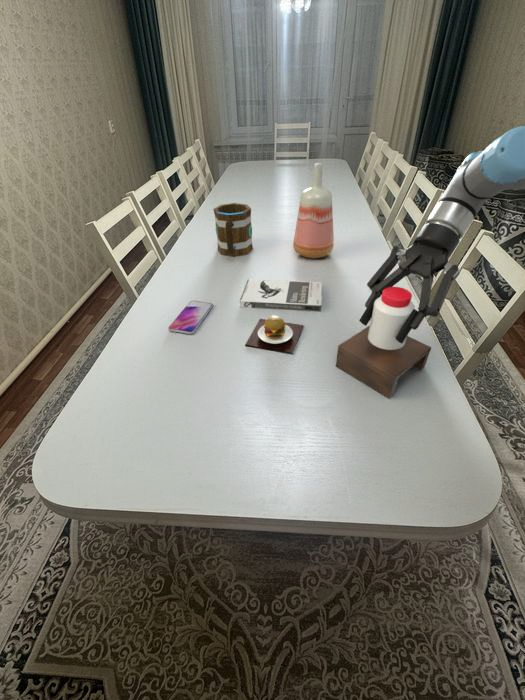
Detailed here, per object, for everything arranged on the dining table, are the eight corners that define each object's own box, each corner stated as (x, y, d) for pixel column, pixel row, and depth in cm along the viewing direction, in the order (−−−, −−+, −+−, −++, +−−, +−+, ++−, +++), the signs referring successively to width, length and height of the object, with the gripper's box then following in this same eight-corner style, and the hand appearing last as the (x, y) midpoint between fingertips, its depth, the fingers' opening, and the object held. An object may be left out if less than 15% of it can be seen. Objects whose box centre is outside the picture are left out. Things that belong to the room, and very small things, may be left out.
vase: (287, 248, 135) (289, 161, 117) (322, 243, 138) (329, 157, 120) (302, 264, 124) (306, 170, 106) (339, 258, 127) (350, 166, 109)
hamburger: (303, 326, 94) (304, 308, 91) (292, 354, 85) (293, 335, 82) (260, 320, 97) (259, 302, 94) (245, 346, 89) (244, 327, 85)
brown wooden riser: (424, 368, 80) (431, 347, 77) (389, 399, 73) (395, 377, 70) (371, 340, 89) (376, 320, 85) (335, 366, 82) (338, 345, 78)
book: (321, 287, 111) (322, 282, 109) (320, 311, 100) (321, 305, 99) (248, 284, 114) (248, 278, 112) (240, 307, 103) (239, 301, 102)
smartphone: (213, 303, 103) (192, 332, 92) (214, 305, 104) (192, 335, 93) (190, 299, 105) (166, 328, 94) (191, 302, 105) (167, 331, 94)
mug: (220, 242, 141) (216, 203, 132) (254, 242, 141) (252, 202, 131) (212, 264, 126) (207, 221, 117) (250, 264, 125) (248, 220, 116)
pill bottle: (392, 355, 72) (404, 308, 65) (360, 338, 77) (368, 293, 70) (412, 339, 76) (426, 293, 69) (381, 324, 80) (391, 280, 74)
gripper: (497, 256, 67) (431, 360, 69) (400, 229, 80) (345, 317, 81) (496, 236, 61) (424, 350, 63) (391, 210, 74) (332, 306, 75)
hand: (380, 331), depth 72 cm, fingers closed on pill bottle, 8 cm apart
